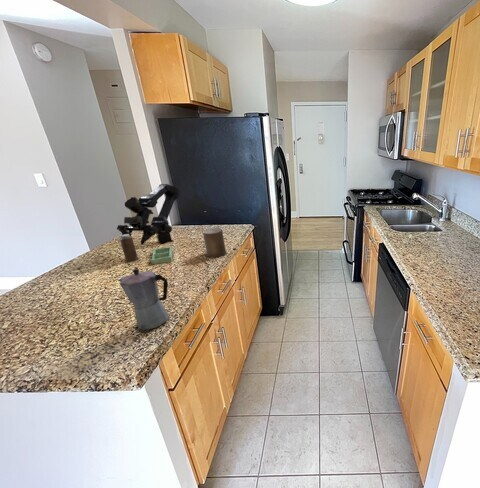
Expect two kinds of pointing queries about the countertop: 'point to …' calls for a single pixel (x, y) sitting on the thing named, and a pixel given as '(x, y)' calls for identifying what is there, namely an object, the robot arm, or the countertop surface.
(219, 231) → the pillar candle
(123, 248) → the pepper mill
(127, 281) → the moka pot
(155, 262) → the caddy
